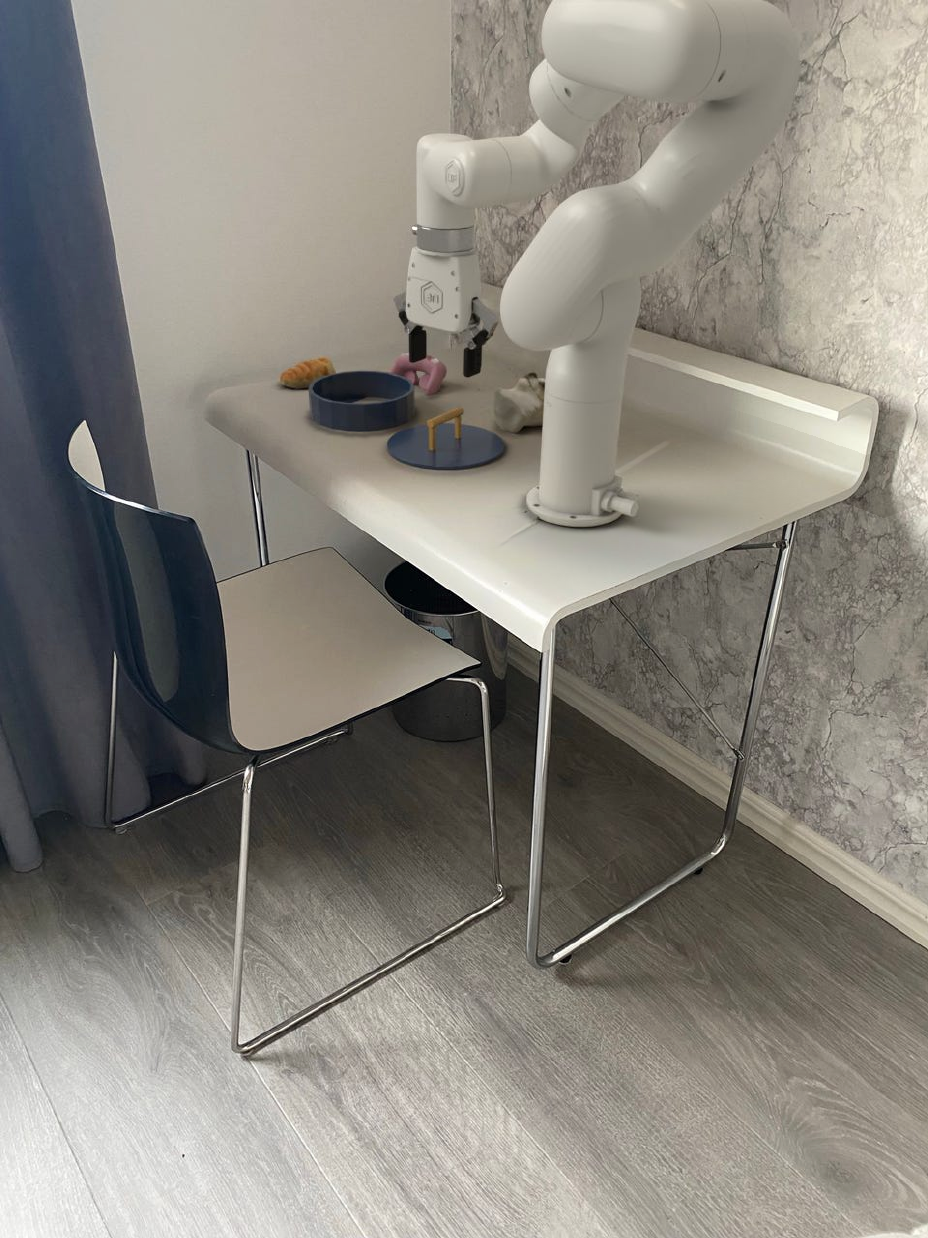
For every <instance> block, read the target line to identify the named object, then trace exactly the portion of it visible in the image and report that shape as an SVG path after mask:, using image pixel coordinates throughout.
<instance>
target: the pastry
mask: <svg viewBox="0 0 928 1238" xmlns="http://www.w3.org/2000/svg"><path fill="white" fill-rule="evenodd" d="M335 373H337V372H336V369H335V367H334V366H333V363H332V361H331V360H330V358H328V357H326V356H325V357H317V359H307V360H302V361H300V362H298V363H297V364H296V365H295V366H291V367H289V368H287V370H285V371H283V372H281V374H280V380H279V383H280V384H281V385H283V386H286V387H288V388H294V389H298V390H301V389H309V387H310V385H311V383H312V382H314V381H315V380H317V379H318V378H321V377H324V376H327V375H330V374H335Z"/></svg>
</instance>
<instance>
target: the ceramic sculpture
mask: <svg viewBox="0 0 928 1238" xmlns="http://www.w3.org/2000/svg"><path fill="white" fill-rule="evenodd" d="M544 394H545V378H543V377H538V375H537V373H536V372H529V373H527V374H525V375H522V376H521V377H520V378H519V380H518V381H517V383H516V385H515V386H514V387H512V388H509V389H506V388H502V387H501V388H499V387H495V388H494V390H493V394H492V416H493V419H494V421H495V424H496V425H497V426H498V427H499V429H500V430H501V431H504V432H509V433H511V434H517V433H519V432H520V431H521V430H522V429H523V427H543V412H544Z"/></svg>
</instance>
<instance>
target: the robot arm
mask: <svg viewBox="0 0 928 1238" xmlns="http://www.w3.org/2000/svg"><path fill="white" fill-rule="evenodd" d="M541 48H542V52H543V54H544V57H545V58H544V59H543V60H542V61H541V62H540V63H539V64H538V65H537V66H536V67H535V69H534V70H533V72H532V73H531V76H530V78H529V84H528V94H529V99H530V102H531V106H532V108H533V110H534V112H535V114H536V116H537V117H538V120H537V121H536V122H535V123H534V124H533V125H531V126H530V127H529V128H528V129H527V130H526V131H525V132H524V133H522V134H521V135H516V136H501V137H488V138H484V139H473V138H471V137H470V136H468V135H465V134H459V133H449V132H448V133H445V132H443V133H442V132H441V133H440V132H439V133H430V134H426V135H423V136H421V137H420V138H419V140H418V142H417V144H416V151H415V152H416V154H415V157H416V159H415V161H416V163H415V165H416V168H415V169H416V170H415V171H416V173H415V174H416V175H415V176H416V178H415V179H416V181H415V182H416V224H414V225H413V226H412V228H411V232H412V235H413V236H416V245H415V246H413V247H412V248H411V252H410V256H409V261H408V267H407V277H406V289H405V290H406V291H404V292H402V293H400V294H398V295H396V296H394V298H393V302H394V305H395V308H396V310H397V312H398V318H399V321H401V323H402V324H403V327H404V328H403V329H404V332H405V334H407V335H408V353H409V362H411V363H415V362H418V361H420V360H423V359H425V358H426V357H427V354H428V351H427V349H428V345H427V343H428V340H427V338H428V337H427V336H428V333H427V330H426V329H424V328H427V329H432V330H434V331H435V330H436V331H440V332H444V333H448V334H453V335H454V334H460V335H461V338H462V339H463V341H464V342H465V344H466V347H464V348H463V357H462V358H463V362H462V364H463V365H462V367H463V368H462V372H463V373H462V374H463V377H465V378H472V377H473V376H477V375H479V374H480V373H481V372H482V366H483V363H482V362H483V346H485V345H486V344H487V342H488V341H489V340H490V339H491V338H492V337H493V336H494V332H495V331H496V328H497V326H498V324H499V322H500V321H501V325H502V328H503V330H504V332H505V334H506V336H507V337H508V339H510V341H511V342H513V343H514V344H515V345H517V346H518V347H520V348H521V349H524V350H526V351H530V352H546V351H550V354H549V357H548V361H547V365H546V370H545V378H544V379H545V394H544V412H543V425H542V432H541V433H542V434H541V449H540V465H539V484H537V485H536V486H534V487H532V488H531V489H530V490H529V491H528V492H527V494H526V498H525V500H526V506H527V508H528V509H529V510H530V512H532V513H533V514H535V515H536V516H537V518H538V519H540V520H541V521H544V522H547V523H551V524H554V525H557V526H562V527H563V526H564V527H573V528H588V527H596V526H597V527H598V526H603V525H606V524H610V523H611V522H613V521H616V520H617V519H618V518H619V517H621V516H622V515H626V516H630V517H631V518H633V517H635V516H636V515H637V513H638V512H639V505H640V503H639V501H640V495H639V494H636V493H633V492H629V491H625V490H624V489H623V488H622V483H623V477H622V476H619V475H616V467H617V457H618V447H619V436H620V426H621V425H620V424H621V415H622V406H623V398H624V397H623V396H624V388H625V380H626V371H627V363H628V362H627V361H628V357H629V352H630V347H631V342H632V338H633V335H634V331H635V328H636V324H637V321H638V317H639V314H640V308H641V303H642V286H641V285H642V284H641V281H640V277H641V278H642V277H645V276H648V275H651V274H654V273H656V272H659V271H661V270H662V269H664V268H665V267H666V266H668V265H669V264H670V263H671V262H672V261H673V259H675V257H676V256H677V255H678V254H679V253H680V252H681V250H682V249H683V248H684V247H685V245H686V244H687V243H688V242H689V241H690V240H691V238H692V237H694V235H695V234H696V233H697V231H698V230H699V229H700V228H701V227H702V226H703V224H705V222H706V221H707V220H708V219H709V218H710V216H712V214H713V213H714V212H715V210H716V209H717V208H718V206H719V205H720V204H721V203H722V202H723V200H724V199H725V198H726V197H727V195H728V194H729V193H730V192H731V191H732V190H733V189H734V188H735V186H737V184H738V183H739V182H740V181H741V180H742V179H743V178H744V176H745V175H747V173H749V171H750V170H751V169H752V168H753V167H754V165H755V164H756V163H757V162H758V161H759V160H760V158H762V156H763V155H764V154H765V152H766V151H767V150H768V149H769V147H770V146H771V145H772V143H773V142H774V141H775V139H776V138H777V136H778V134H779V133H780V131H781V130H782V128H783V126H784V125H785V122H786V120H787V118H788V116H789V114H790V112H791V109H792V106H793V103H794V100H795V97H796V93H797V90H798V85H799V77H800V47H799V43H798V38H797V35H796V32H795V30H794V27H793V24H792V23H791V21H790V19H789V17H788V16H787V15H786V14H785V13H784V12H783V11H782V10H781V9H780V8H779V7H777V6H776V5H774V4H772V3H770V2H769V1H766V0H551V2H550V3H549V6H548V8H547V9H546V12H545V15H544V18H543V21H542V26H541ZM626 96H628V97H632V98H636V99H640V100H645V101H648V102H655V103H666V104H681V103H695V102H700V104H699V105H698V106H697V107H696V108H695V109H694V110H692V112H690V114H687V116H686V117H685V118H683V119H682V120H681V121H680V122H678V123H677V124H676V125H675V126H674V127H673V128H672V129H671V130H670V131H669V132H668V133H667V134H666V135H665V136H664V138H663V139H662V140H661V141H660V143H659V144H658V145H657V147H656V148H655V150H654V151H653V153H652V154H651V155H650V156H649V157H648V159H647V160H646V161H645V163H644V164H643V165H642V166H641V167H640V169H638V171H637V172H636V173H635V174H633V175H632V176H631V177H630V178H628V179H626V180H624V181H620V182H618V183H617V182H616V183H614V184H607V185H600V186H599V185H598V186H594V187H588V188H585V189H582V190H580V191H577V192H575V193H573V194H571V195H570V196H569V197H568V198H566V199H565V200H563V201H562V202H561V203H560V204H558V206H556V208H554V210H553V211H552V213H551V214H550V215H549V217H548V218H547V219H546V220H545V222H544V223H543V225H542V227H540V229H539V230H538V232H537V234H536V235H535V236H534V238H533V239H532V241H531V243H530V244H529V245H528V246H527V248H526V249H525V251H524V252H523V254H522V256H520V258H519V260H518V261H517V263H516V264H515V265H514V267H513V268H512V270H511V271H510V273H509V275H508V276H507V279H506V281H505V282H504V283H505V284H504V285H503V288H502V292H501V295H500V303H499V315H500V316H499V317H500V318H499V317H498V315H496V314H495V313H494V311H492V310H491V309H490V308H489V307H487V305H485V304H484V303H483V295H482V278H481V268H480V261H479V255H478V252H477V251H475V221H476V220H475V219H476V209H483V208H490V207H496V206H500V205H509V204H516V203H521V202H522V203H525V202H528V201H530V200H533V199H536V198H539V196H541V195H543V194H544V193H546V192H547V191H548V190H550V189H551V188H552V187H553V186H554V185H555V184H557V183H558V182H559V181H560V180H561V179H562V178H563V177H565V176H566V175H567V174H568V173H569V172H570V171H571V170H572V169H573V168H574V167H575V166H576V164H577V163H578V162H579V160H580V158H581V156H582V154H583V151H584V149H585V146H586V143H587V140H588V134H589V130H590V129H591V128H592V127H593V126H595V124H597V123H598V122H599V121H600V120H601V119H602V118H603V117H604V116H605V115H606V114H607V113H608V112H610V111H611V110H612V109H613V108H614V107H615V106H616V105H617V104H618V103H620V102H621V101H622V100H623V99H624V98H625V97H626ZM481 321H482V322H483V324H482V329H481V327H480V324H481Z"/></svg>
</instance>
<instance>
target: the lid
mask: <svg viewBox="0 0 928 1238" xmlns="http://www.w3.org/2000/svg"><path fill="white" fill-rule="evenodd" d="M464 411H465V410H464V408H463V407H461V406H458V407H456V408H454V409H451V410H449V411H447V412H444V413H442V414H439V415H437V416H435V417H432V418H430V419H428V420H427V421H426V423H425V424H420V425H414V426H411V427H408V428H404V429H401V430H399V431H397V432H395V433H394V434H392V436H390V437H389V438H388V440H387V442H386V451H387V452H388V454H389V455H390V456H391V457H392V458H393V459H395V460H396V461H398V462H400V463H402V464H406V465H409V466H411V467H416V468H420V469H428V470H439V471H454V470H457V471H458V470H465V469H472V468H477V467H481V466H484V465H487V464H489V463H493V462H494V461H495V460H497V459H499V457H501V455H503V454H504V450H505V444H504V441H503V439H502V437H500V436H499V435H498V434H496V433H494V432H493V431H490V430H489V429H486V428H482V427H479V426H475V425H470V424H463V423H462V419H463V418H462V416H463V415H464ZM451 420H454V423H451V422H450V421H451Z"/></svg>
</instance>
